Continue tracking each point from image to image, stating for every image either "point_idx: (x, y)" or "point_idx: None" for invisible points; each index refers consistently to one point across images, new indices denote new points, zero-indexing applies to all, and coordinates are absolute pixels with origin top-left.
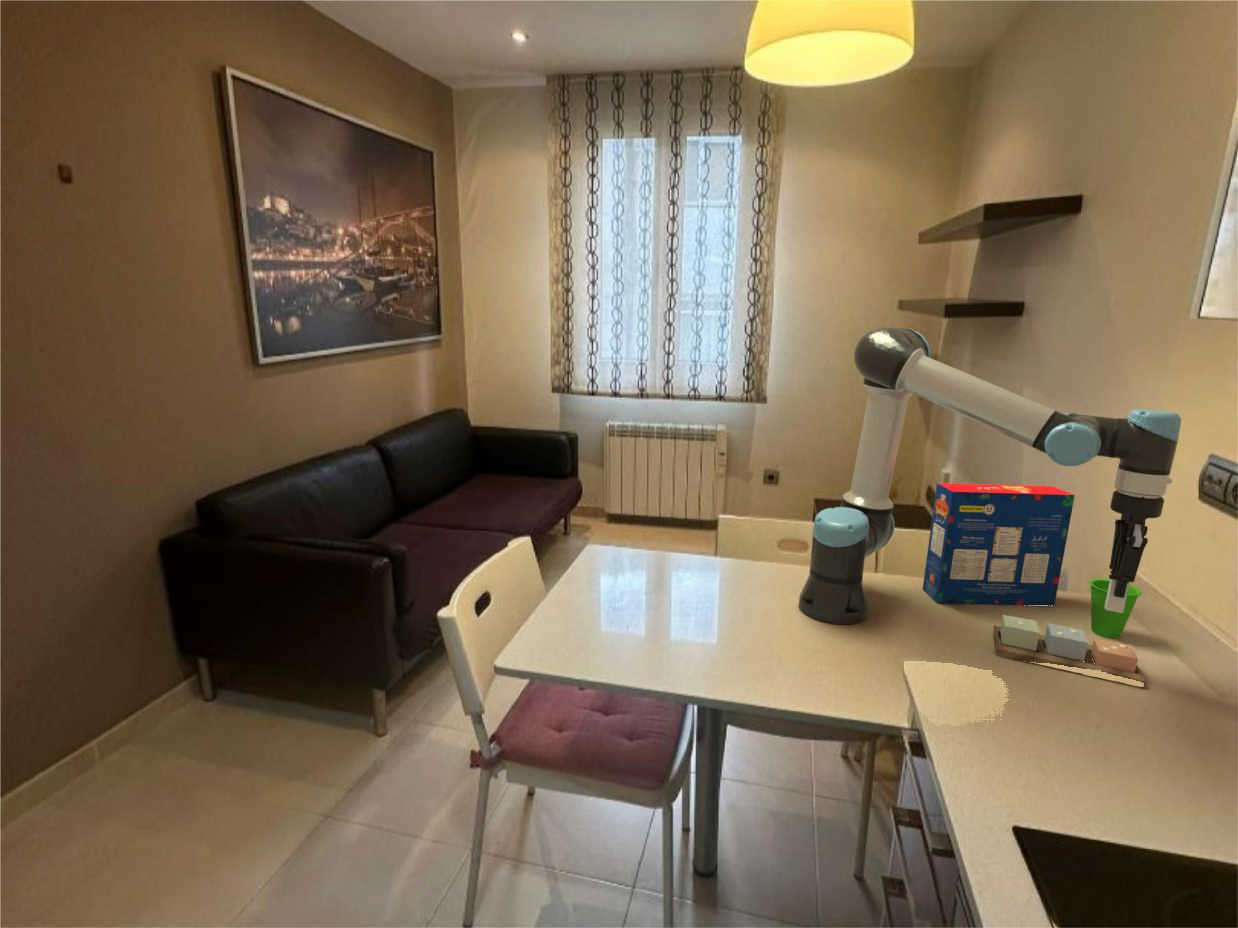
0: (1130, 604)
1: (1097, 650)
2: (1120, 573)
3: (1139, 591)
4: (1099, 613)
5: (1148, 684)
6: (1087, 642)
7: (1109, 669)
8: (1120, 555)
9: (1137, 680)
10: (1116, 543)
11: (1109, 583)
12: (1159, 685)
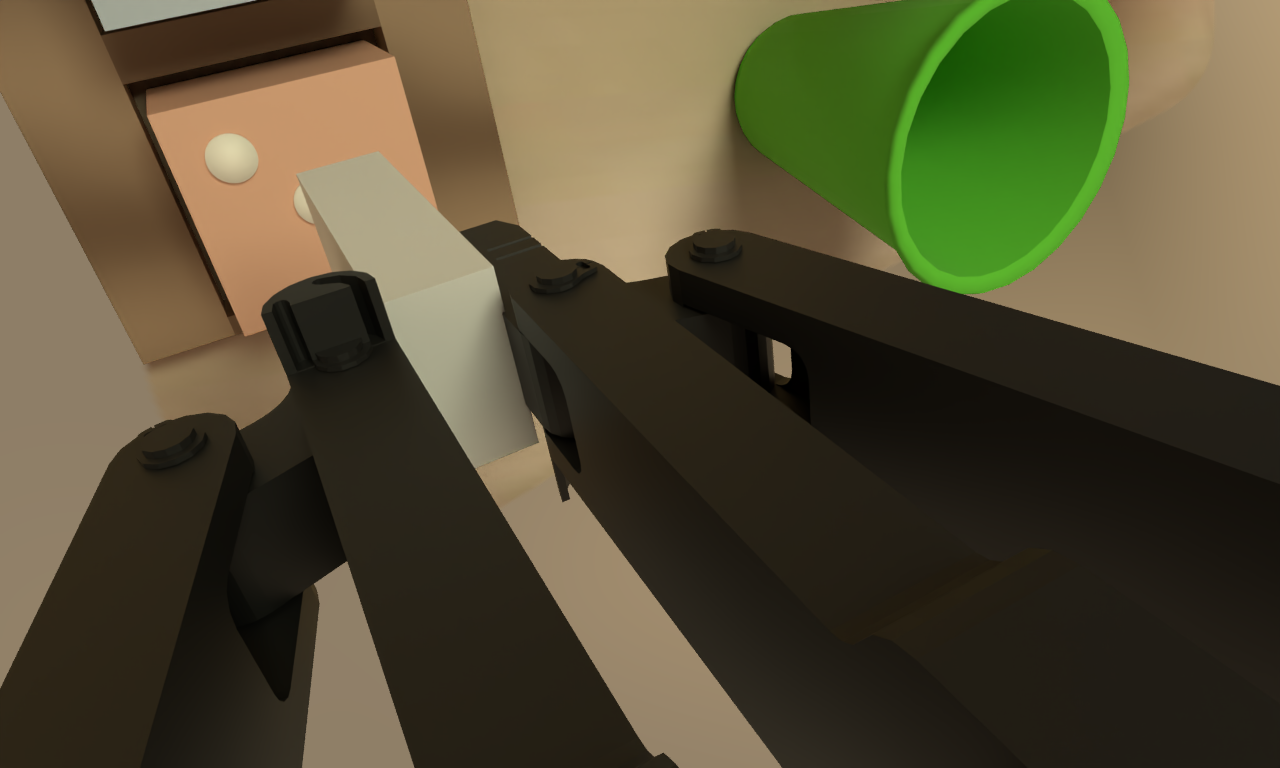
0: (878, 235)
1: (201, 98)
2: (82, 549)
3: (995, 281)
4: (815, 58)
5: (234, 351)
6: (107, 28)
7: (128, 178)
8: (384, 657)
9: (125, 327)
10: (1063, 432)
11: (449, 233)
12: (274, 390)
